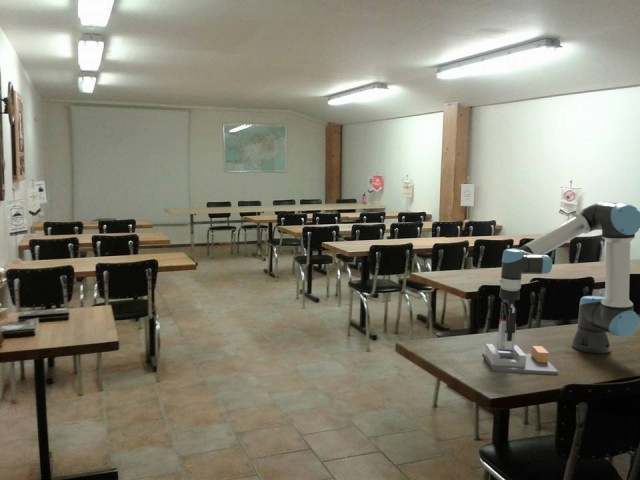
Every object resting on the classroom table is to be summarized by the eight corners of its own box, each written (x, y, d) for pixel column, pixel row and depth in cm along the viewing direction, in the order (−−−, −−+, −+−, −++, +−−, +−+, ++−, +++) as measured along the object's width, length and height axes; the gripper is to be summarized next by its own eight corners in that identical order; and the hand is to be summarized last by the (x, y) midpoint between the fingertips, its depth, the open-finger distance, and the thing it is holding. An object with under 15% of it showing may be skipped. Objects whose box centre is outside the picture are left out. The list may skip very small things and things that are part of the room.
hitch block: (541, 357, 225) (542, 343, 224) (558, 374, 206) (559, 360, 205) (482, 354, 226) (483, 341, 226) (493, 371, 208) (494, 356, 207)
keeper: (541, 355, 222) (542, 346, 222) (547, 362, 214) (548, 352, 214) (531, 355, 222) (532, 345, 222) (537, 362, 215) (538, 352, 214)
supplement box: (514, 352, 212) (516, 323, 211) (498, 350, 214) (500, 322, 212) (511, 347, 218) (514, 319, 216) (496, 345, 219) (498, 318, 218)
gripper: (494, 283, 222) (490, 337, 225) (506, 294, 203) (502, 353, 206) (513, 284, 222) (508, 338, 225) (527, 294, 203) (522, 354, 206)
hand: (505, 345), depth 216 cm, fingers closed on supplement box, 6 cm apart
